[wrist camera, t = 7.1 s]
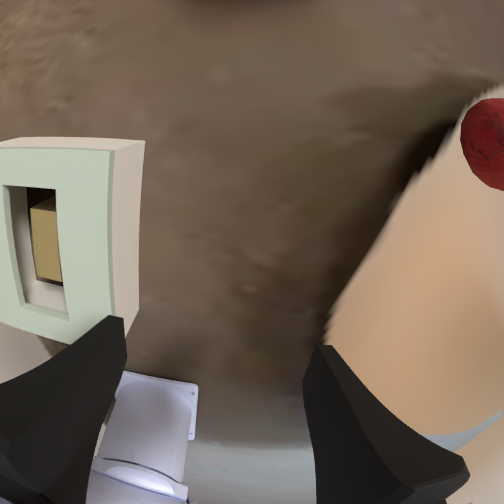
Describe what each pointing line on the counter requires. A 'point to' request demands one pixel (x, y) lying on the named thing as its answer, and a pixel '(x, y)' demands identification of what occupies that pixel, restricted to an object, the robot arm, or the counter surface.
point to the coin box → (72, 233)
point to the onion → (485, 141)
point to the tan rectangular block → (46, 239)
